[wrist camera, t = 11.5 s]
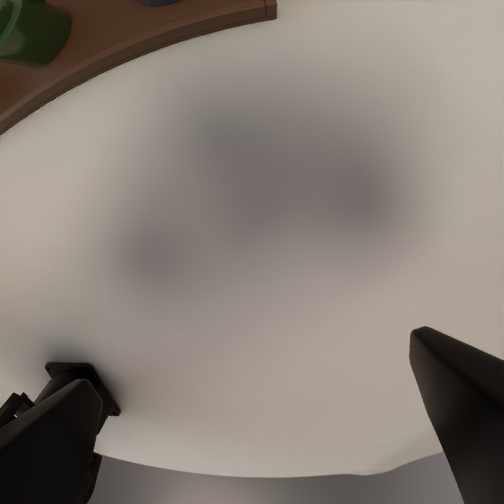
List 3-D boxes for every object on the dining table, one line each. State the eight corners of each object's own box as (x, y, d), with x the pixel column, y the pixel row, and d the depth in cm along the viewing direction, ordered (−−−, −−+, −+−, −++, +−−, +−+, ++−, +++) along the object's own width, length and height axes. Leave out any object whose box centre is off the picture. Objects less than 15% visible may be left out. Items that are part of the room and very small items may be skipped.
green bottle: (25, 79, 14) (-63, 73, 6) (23, 30, 13) (-54, 12, 5) (73, 48, 14) (-17, 20, 6) (70, -2, 12) (-6, -39, 4)
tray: (-34, 163, 17) (-50, 167, 15) (-40, 72, 14) (-54, 71, 12) (276, 18, 14) (277, 4, 12) (240, -83, 10) (237, -99, 8)
